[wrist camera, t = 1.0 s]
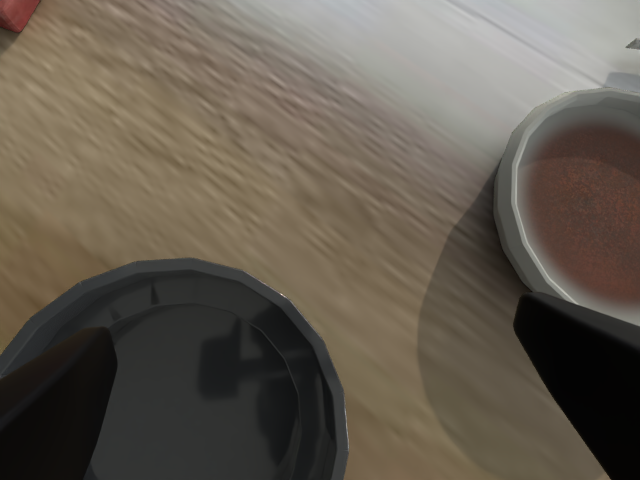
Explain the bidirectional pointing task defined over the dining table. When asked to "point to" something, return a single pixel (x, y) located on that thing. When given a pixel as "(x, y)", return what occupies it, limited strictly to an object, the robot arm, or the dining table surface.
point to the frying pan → (576, 200)
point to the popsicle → (16, 13)
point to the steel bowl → (201, 375)
